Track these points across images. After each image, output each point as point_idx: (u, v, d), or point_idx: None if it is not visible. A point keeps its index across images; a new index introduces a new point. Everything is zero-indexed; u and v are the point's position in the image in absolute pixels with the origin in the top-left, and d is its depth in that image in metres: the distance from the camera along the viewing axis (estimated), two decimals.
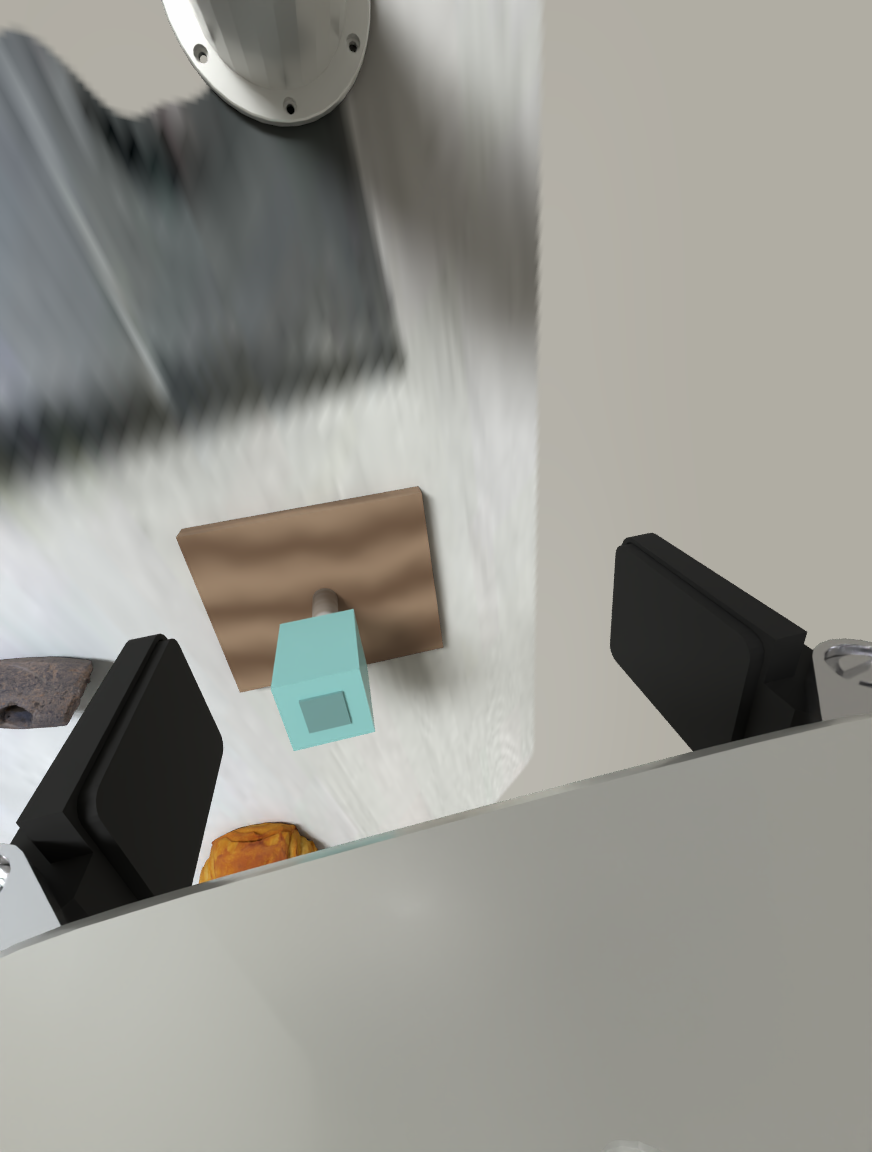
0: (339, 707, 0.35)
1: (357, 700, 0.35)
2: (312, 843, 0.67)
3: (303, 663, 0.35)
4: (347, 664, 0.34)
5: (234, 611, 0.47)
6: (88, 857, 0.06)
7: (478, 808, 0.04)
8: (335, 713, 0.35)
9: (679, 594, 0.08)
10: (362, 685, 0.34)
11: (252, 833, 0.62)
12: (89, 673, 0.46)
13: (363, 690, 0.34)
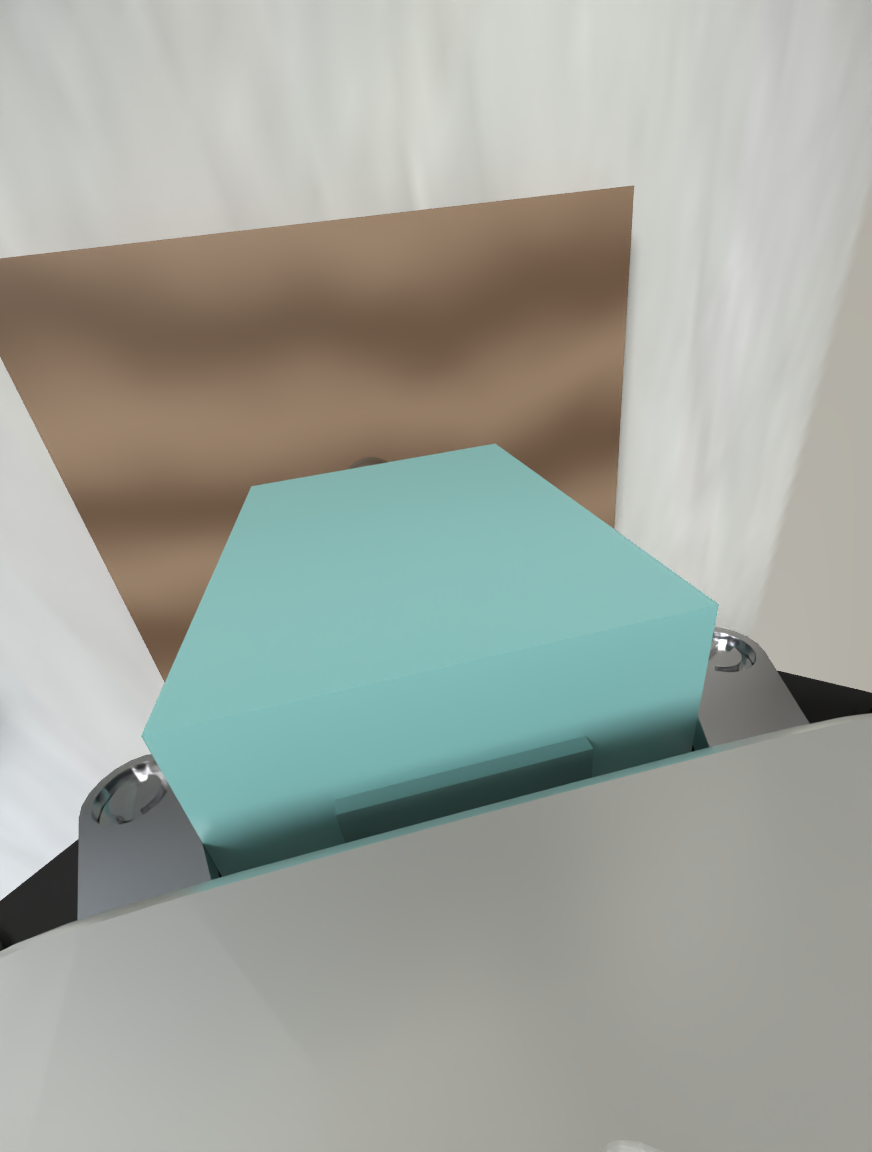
0: None
1: None
2: None
3: (352, 590, 0.07)
4: (613, 585, 0.06)
5: (148, 509, 0.19)
6: None
7: (478, 808, 0.04)
8: None
9: None
10: (693, 705, 0.06)
11: None
12: None
13: (688, 733, 0.06)
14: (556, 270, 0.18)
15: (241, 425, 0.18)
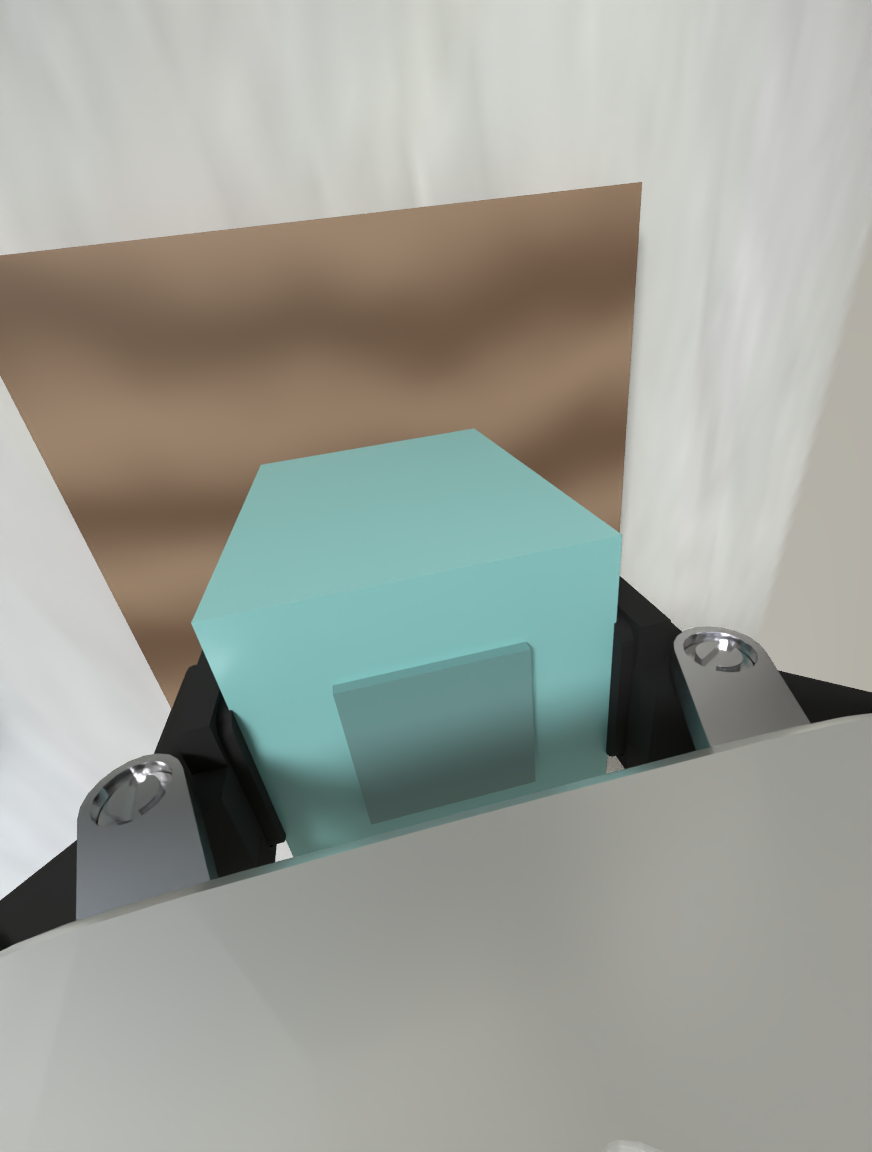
0: (506, 718, 0.08)
1: (575, 687, 0.08)
2: None
3: (346, 534, 0.08)
4: (548, 525, 0.08)
5: (144, 514, 0.19)
6: (224, 770, 0.07)
7: (478, 808, 0.04)
8: (483, 741, 0.08)
9: None
10: (611, 620, 0.08)
11: None
12: None
13: (609, 643, 0.08)
14: (562, 269, 0.18)
15: (239, 428, 0.18)
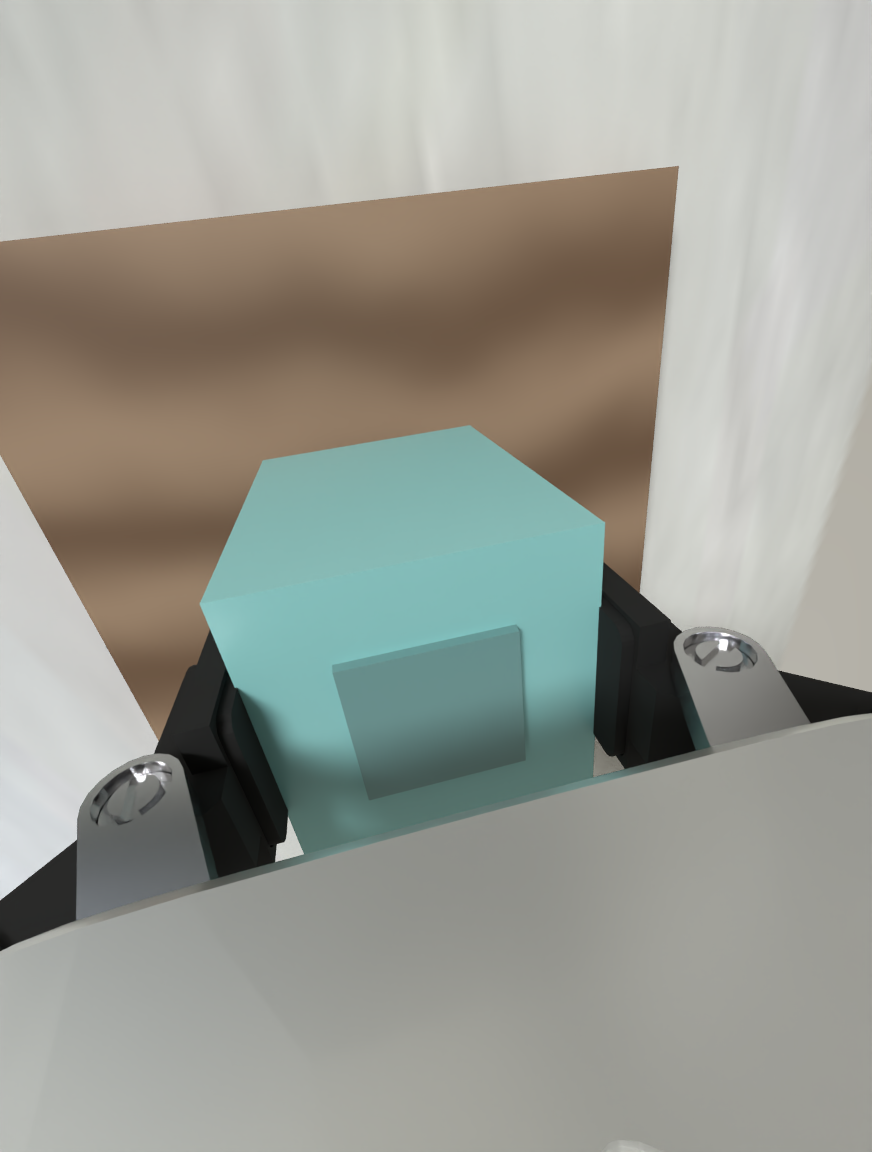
0: (497, 698, 0.08)
1: (563, 669, 0.09)
2: None
3: (345, 523, 0.09)
4: (536, 514, 0.08)
5: (125, 534, 0.17)
6: (224, 770, 0.07)
7: (478, 808, 0.04)
8: (475, 719, 0.09)
9: None
10: (596, 604, 0.08)
11: None
12: None
13: (595, 627, 0.08)
14: (588, 263, 0.16)
15: (230, 439, 0.16)
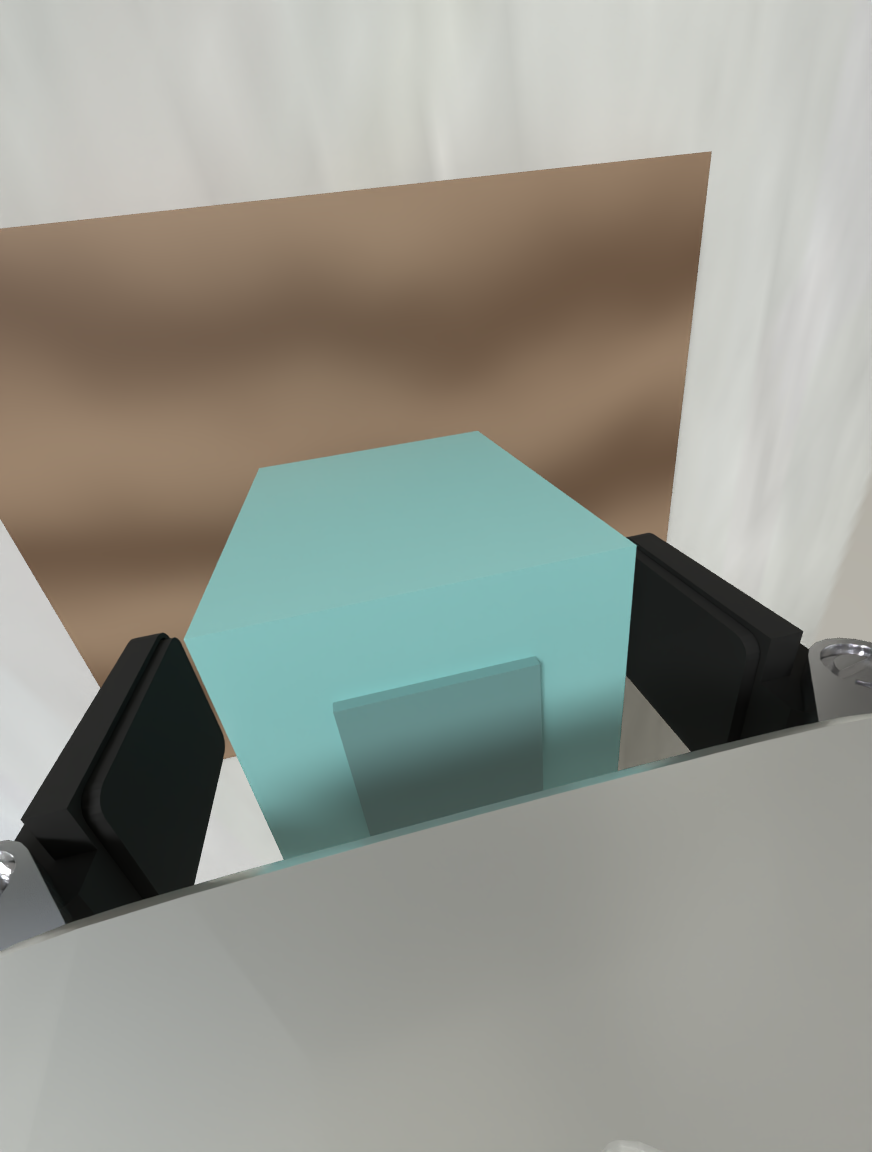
0: (514, 735, 0.08)
1: (585, 702, 0.08)
2: None
3: (347, 542, 0.08)
4: (557, 534, 0.07)
5: (109, 551, 0.16)
6: (92, 854, 0.06)
7: (478, 808, 0.04)
8: (489, 758, 0.08)
9: (676, 594, 0.08)
10: (624, 633, 0.07)
11: None
12: None
13: (622, 657, 0.08)
14: (611, 258, 0.15)
15: (222, 449, 0.15)
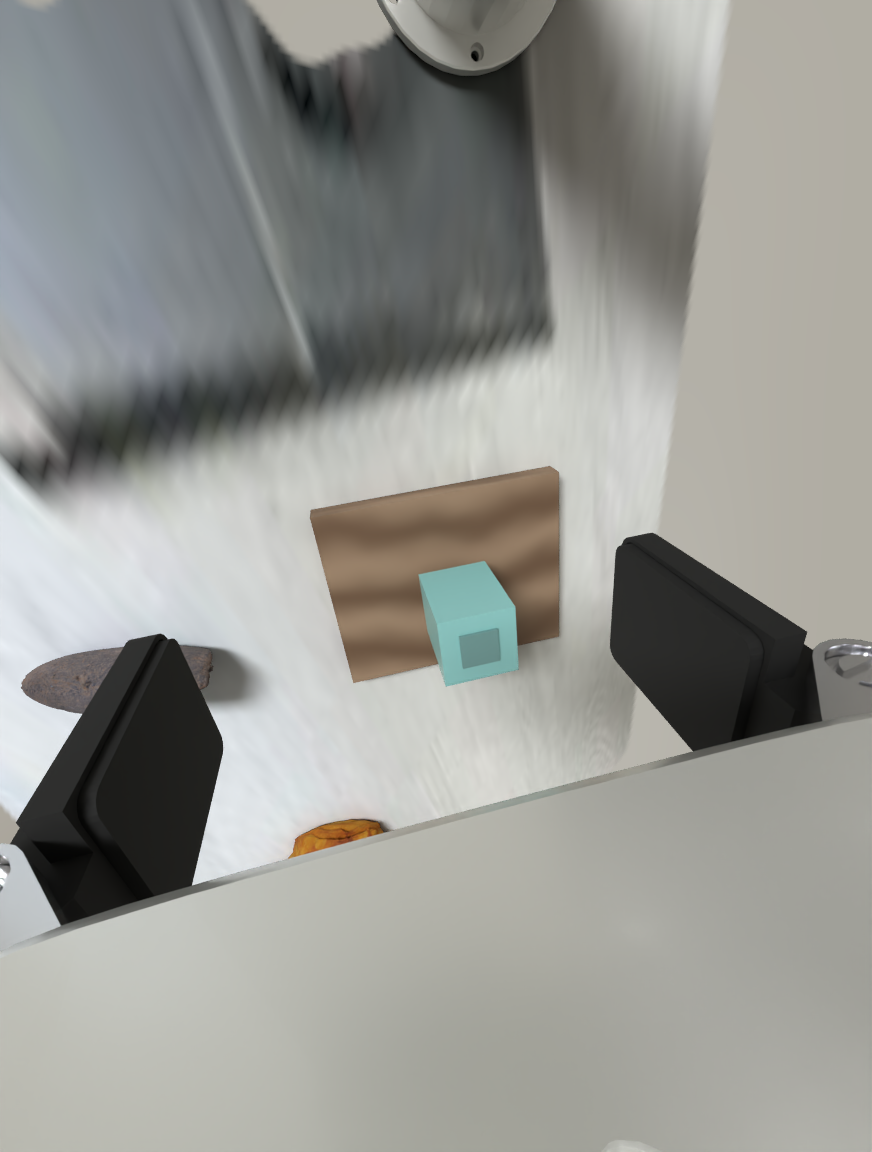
0: (493, 644, 0.37)
1: (508, 638, 0.38)
2: None
3: (458, 604, 0.38)
4: (501, 603, 0.37)
5: (358, 597, 0.45)
6: (88, 857, 0.06)
7: (478, 808, 0.04)
8: (488, 649, 0.38)
9: (679, 594, 0.08)
10: (515, 623, 0.37)
11: (339, 830, 0.59)
12: None
13: (515, 628, 0.37)
14: (528, 501, 0.44)
15: (399, 563, 0.45)
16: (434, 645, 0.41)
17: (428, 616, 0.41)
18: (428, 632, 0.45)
